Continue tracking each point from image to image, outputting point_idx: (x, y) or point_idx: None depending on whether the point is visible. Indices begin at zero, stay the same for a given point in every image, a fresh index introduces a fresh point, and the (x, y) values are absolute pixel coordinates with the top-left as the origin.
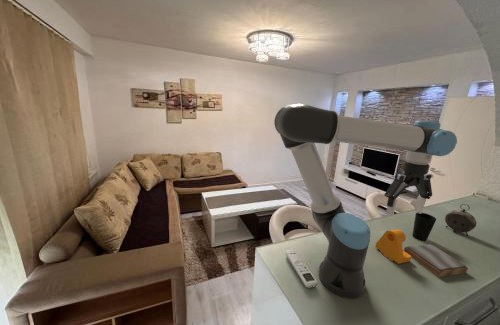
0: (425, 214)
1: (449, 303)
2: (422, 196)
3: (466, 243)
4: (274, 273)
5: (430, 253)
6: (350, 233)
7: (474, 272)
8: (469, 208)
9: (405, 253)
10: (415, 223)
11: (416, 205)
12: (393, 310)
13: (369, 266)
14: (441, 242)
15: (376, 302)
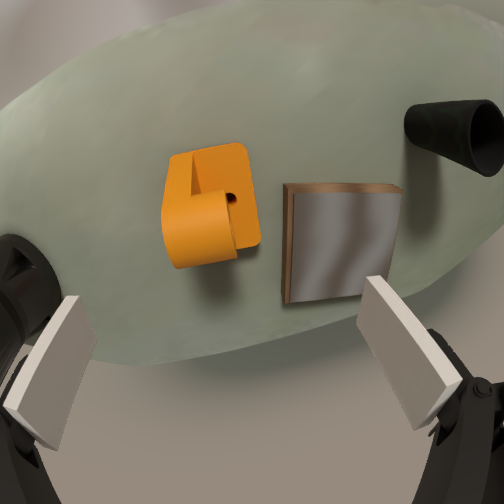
0: (501, 122)
1: (225, 350)
2: (450, 410)
3: (495, 185)
4: None
5: (344, 238)
6: None
7: (398, 279)
8: None
9: (250, 226)
10: (441, 114)
11: (389, 320)
12: (96, 348)
13: (97, 246)
14: (456, 164)
15: None
